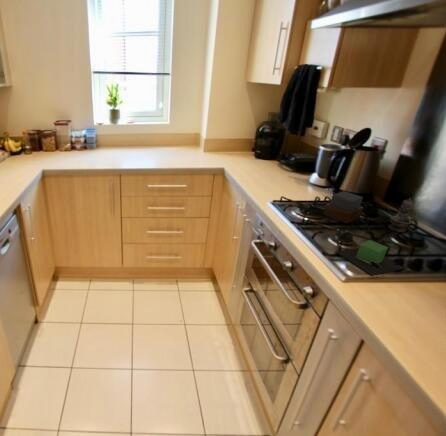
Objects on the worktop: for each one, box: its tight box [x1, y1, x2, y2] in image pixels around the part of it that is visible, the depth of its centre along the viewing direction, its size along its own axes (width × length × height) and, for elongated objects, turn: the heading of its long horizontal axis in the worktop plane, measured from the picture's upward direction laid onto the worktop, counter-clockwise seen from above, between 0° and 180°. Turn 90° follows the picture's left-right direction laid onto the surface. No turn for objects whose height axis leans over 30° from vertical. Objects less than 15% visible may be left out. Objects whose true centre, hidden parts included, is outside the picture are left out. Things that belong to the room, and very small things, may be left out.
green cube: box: [356, 239, 389, 265], centre depth 95 cm, size 5×5×5 cm
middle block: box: [329, 190, 364, 211], centre depth 119 cm, size 7×7×4 cm
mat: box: [335, 247, 405, 277], centre depth 96 cm, size 12×12×1 cm
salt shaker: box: [387, 197, 415, 233], centre depth 110 cm, size 6×6×12 cm
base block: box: [322, 201, 365, 224], centre depth 121 cm, size 9×9×4 cm
